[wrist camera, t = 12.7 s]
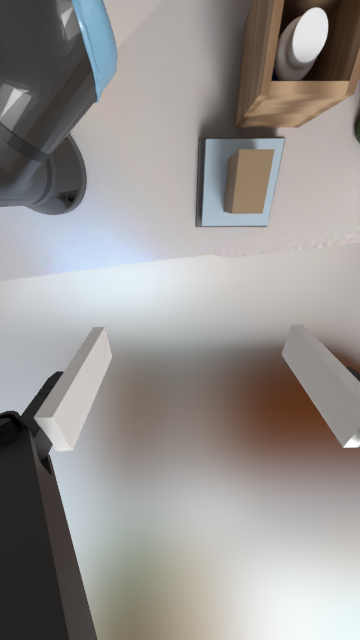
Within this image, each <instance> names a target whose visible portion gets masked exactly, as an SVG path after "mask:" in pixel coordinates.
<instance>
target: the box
mask: <svg viewBox="0 0 360 640" xmlns="http://www.w3.org/2000/svg"><path fill="white" fill-rule="evenodd" d="M315 7H318V8H321V9H322V10H323V11H324V12H325V13H326V16H327V19H328V33H327V38H326V41H325V44H324V46H323V48H322V50H321V51H320V53H319V54H318V55H317V58H316V60H315V62H314V64H313V66H312V68H311V69H310V71H309V72H308V73H307V74H306V76H305V77H304V78H303V81H271V79H272V73H273V66H274V60H275V54H276V48H277V42H278V36H279V33H283V32H284V30H285V29H286V27H287V26H288V25H289V24H290V23H291V22H292V21H293V20H294V19H296V18H298V17H300V16H302V15H303V14H304V13H305V12H306V11H308V10H309V9H311V8H315ZM359 77H360V0H254V1H253V4H252V6H251V9H250V12H249V14H248V17H247V20H246V24H245V34H244V43H243V53H242V62H241V72H240V81H239V91H238V100H237V110H236V119H235V127H300V126H301V125H303V124H305V123H306V122H308V121H310V120H311V119H313V118H315V117H316V116H318V115H320V114H321V113H323V112H325V111H326V110H328V109H330V108H331V107H333V106H335V105H336V104H338V103H340V102H341V101H343V100H345V99H346V98H348V97H350V96H351V95H353V94H354V92H355V89H356V86H357V83H358V80H359Z"/></svg>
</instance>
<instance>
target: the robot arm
mask: <svg viewBox="0 0 360 640" xmlns="http://www.w3.org/2000/svg"><path fill="white" fill-rule="evenodd" d="M116 67H117V47H116V42H115V38H114V34H113V30H112V27H111V23H110V20H109V17H108V14H107V11H106V8H105V5H104V2H103V0H0V207H6V206H25V207H28V208H30V209H32V210H34V211H36V212H39V213H43V214H48V215H58V214H65V213H68V212H70V211H72V210H74V209H75V208H76V207H77V206H78V205H79V204H80V203H81V201H82V199H83V197H84V194H85V190H86V183H87V178H86V169H85V165H84V161H83V158H82V155H81V153H80V151H79V149H78V147H77V145H76V143H75V142H74V140H73V139H72V137H71V136H70V135H69V133H70V131H71V130H72V129H73V128H74V127H75V125H76V124H77V123H78V122H79V120H80V119H81V118H82V117H83V116H84V114H85V113H86V112H87V111H88V109H89V108H90V107H91V106H92V104H93V103H97V102H98V101H99V98H100V96H101V93H102V91H103V90H104V88H105V87H106V86H107V84H108V83H109V82H110V80H111V79H112V77H113V76H114V74H115V71H116ZM282 356H283V357H284V359H285V360H286V362H287V363H288V365H289V366H290V368H291V370H292V371H293V373H294V374H295V376H296V377H297V378H298V380H299V382H300V383H301V385H302V386H303V388H304V389H305V391H306V392H307V394H308V395H309V397H310V398H311V400H312V401H313V403H314V404H315V406H316V407H317V408H318V410H319V412H320V413H321V415H322V416H323V418H324V419H325V421H326V422H327V424H328V425H329V427H330V428H331V430H332V431H333V433H334V434H335V436H336V437H337V439H338V440H339V442H340V443H341V445H342V446H343V447H359V446H360V374H359V373H358V372H356V371H355V370H353V369H352V368H350V367H344V366H343V365H342V364H341V363H340V362H339V361H338V360H337V359H336V358H335V357H334V356H333V355H332V353H330V351H329V350H328V349H326V347H324V346H323V344H321V342H320V341H319V340H318V339H316V337H315V336H314V335H313V334H312V333H311V332H310V331H309V330H308V329H307V328H306V327H305V326H304V325H292V326H291V329H290V332H289V335H288V338H287V341H286V344H285V346H284V349H283V352H282ZM111 358H112V355H111V351H110V347H109V343H108V339H107V335H106V332H105V328H104V327H96V328H93V329H92V331H91V332H90V334H89V335H88V337H87V338H86V340H85V341H84V343H83V344H82V346H81V347H80V349H79V350H78V352H77V353H76V355H75V356H74V358H73V359H72V361H71V362H70V364H69V365H68V367H67V368H66V370H65V371H64V372H56V373H54V374H53V375H52V376H51V377H50V378H48V380H47V381H46V382H45V384H44V385H43V386H42V388H41V389H40V390H39V392H38V394H37V395H36V396H35V397H34V399H33V400H32V401H31V403H30V404H29V406H28V407H27V408H26V410H25V411H24V413H23V414H22V415H21V416H20V415H19V414H18V412H15V411H6V412H4V413H1V414H0V640H97V636H96V632H95V628H94V625H93V621H92V617H91V613H90V609H89V605H88V601H87V598H86V593H85V590H84V586H83V582H82V578H81V574H80V570H79V566H78V562H77V558H76V555H75V551H74V547H73V543H72V539H71V535H70V531H69V528H68V524H67V520H66V516H65V512H64V508H63V504H62V500H61V496H60V492H59V489H58V485H57V481H56V477H55V473H54V470H53V465H52V462H51V458H50V455H49V454H48V453H49V451H50V449H51V447H52V445H53V446H54V448H55V449H56V451H73V448H74V446H75V444H76V441H77V439H78V437H79V434H80V432H81V429H82V427H83V425H84V422H85V420H86V418H87V415H88V413H89V410H90V408H91V406H92V403H93V401H94V399H95V396H96V394H97V392H98V389H99V387H100V384H101V382H102V380H103V377H104V375H105V373H106V370H107V368H108V365H109V363H110V361H111Z"/></svg>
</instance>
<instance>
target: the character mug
mask: <svg viewBox="0 0 360 640" xmlns="http://www.w3.org/2000/svg"><path fill="white" fill-rule="evenodd" d="M356 133H357V140H358V141H359V143H360V117H359V118H358V122H357V128H356Z"/></svg>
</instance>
